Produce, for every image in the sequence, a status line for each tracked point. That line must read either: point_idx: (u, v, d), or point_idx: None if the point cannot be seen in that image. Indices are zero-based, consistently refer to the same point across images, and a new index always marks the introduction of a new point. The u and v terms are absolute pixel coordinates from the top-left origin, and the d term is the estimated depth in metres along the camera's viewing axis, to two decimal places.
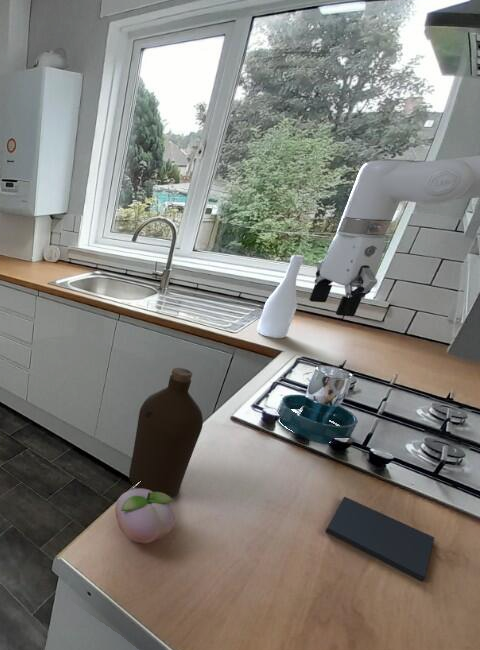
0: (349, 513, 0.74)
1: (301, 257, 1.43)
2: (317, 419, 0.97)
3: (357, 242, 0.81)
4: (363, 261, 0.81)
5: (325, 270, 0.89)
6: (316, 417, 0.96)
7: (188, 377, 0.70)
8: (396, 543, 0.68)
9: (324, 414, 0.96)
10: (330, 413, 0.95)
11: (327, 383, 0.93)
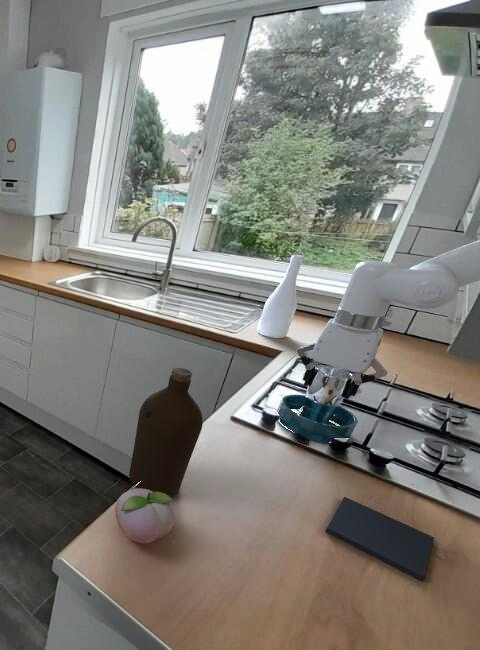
0: (349, 513, 0.74)
1: (301, 257, 1.43)
2: (317, 419, 0.97)
3: (371, 336, 0.86)
4: (375, 352, 0.87)
5: (324, 357, 0.93)
6: (316, 417, 0.96)
7: (188, 377, 0.70)
8: (396, 543, 0.68)
9: (324, 414, 0.96)
10: (330, 413, 0.95)
11: (327, 383, 0.93)
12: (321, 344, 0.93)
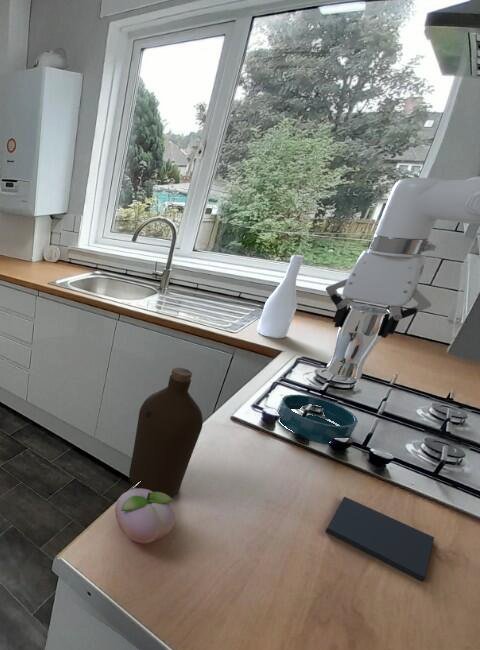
0: (349, 513, 0.74)
1: (301, 257, 1.43)
2: (350, 363, 0.88)
3: (413, 262, 0.77)
4: (417, 281, 0.78)
5: (358, 292, 0.84)
6: (349, 361, 0.88)
7: (188, 377, 0.70)
8: (396, 543, 0.68)
9: (358, 357, 0.87)
10: (365, 355, 0.86)
11: (362, 320, 0.84)
12: (354, 278, 0.84)
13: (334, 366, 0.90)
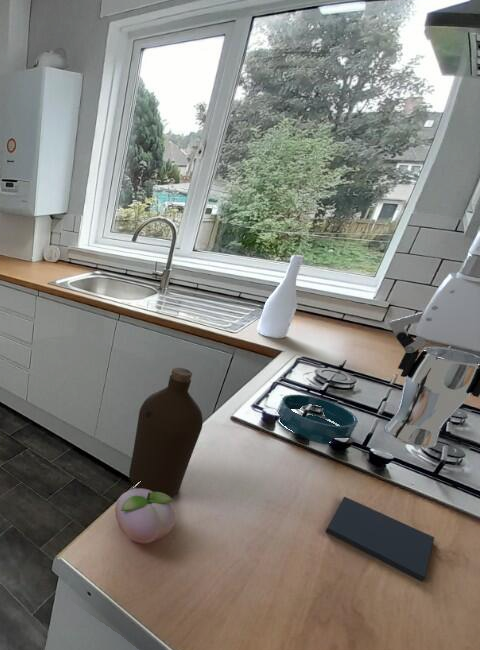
0: (349, 513, 0.74)
1: (301, 257, 1.43)
2: (422, 426, 0.64)
3: None
4: None
5: (440, 332, 0.60)
6: (422, 424, 0.64)
7: (188, 377, 0.70)
8: (396, 543, 0.68)
9: (435, 420, 0.63)
10: (445, 418, 0.63)
11: (444, 371, 0.60)
12: (435, 312, 0.60)
13: (398, 429, 0.66)
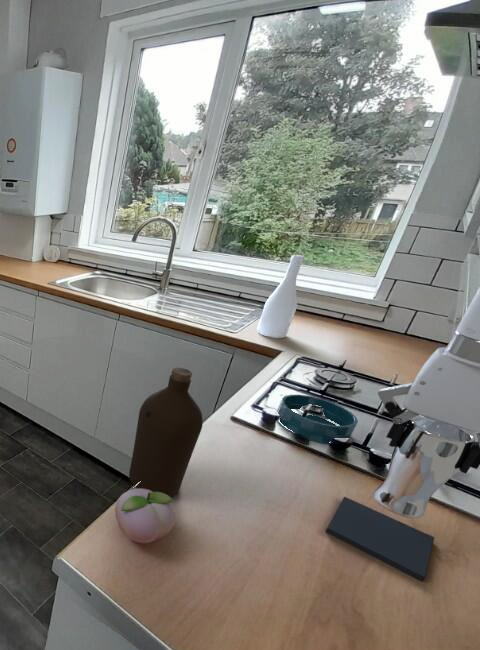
0: (349, 513, 0.74)
1: (301, 257, 1.43)
2: (410, 497, 0.64)
3: None
4: None
5: (428, 407, 0.60)
6: (410, 495, 0.64)
7: (188, 377, 0.70)
8: (396, 543, 0.68)
9: (423, 492, 0.63)
10: (433, 491, 0.62)
11: (432, 447, 0.60)
12: (424, 387, 0.60)
13: (387, 497, 0.66)
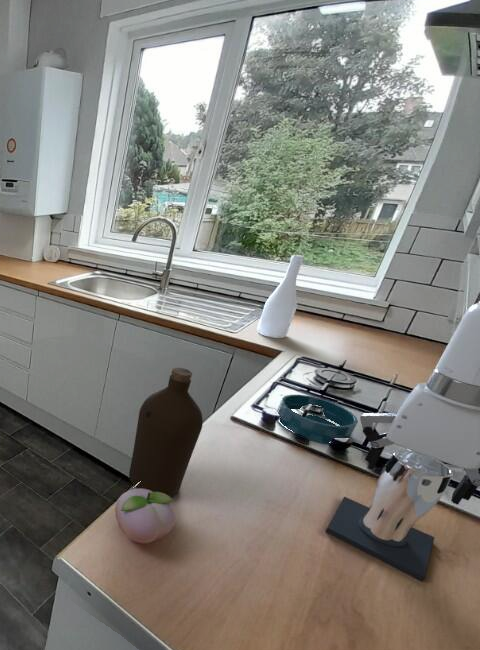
0: (349, 513, 0.74)
1: (301, 257, 1.43)
2: (393, 527, 0.67)
3: None
4: None
5: (409, 440, 0.62)
6: (392, 525, 0.66)
7: (188, 377, 0.70)
8: None
9: (405, 523, 0.65)
10: (414, 521, 0.65)
11: (413, 480, 0.63)
12: (405, 421, 0.62)
13: (371, 526, 0.69)
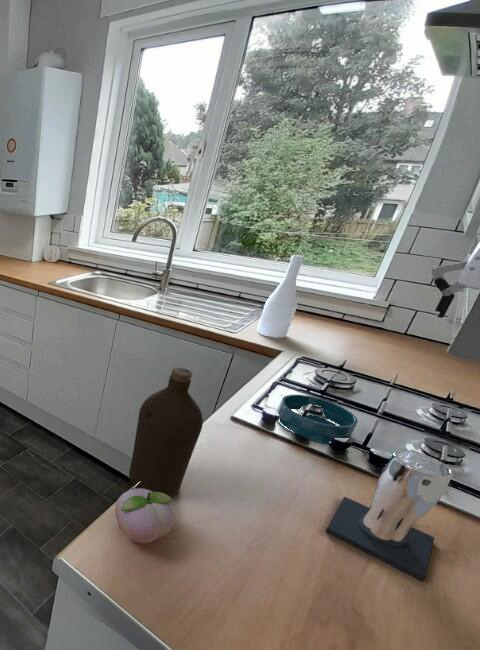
0: (349, 513, 0.74)
1: (301, 257, 1.43)
2: (393, 527, 0.67)
3: None
4: None
5: None
6: (392, 525, 0.66)
7: (188, 377, 0.70)
8: None
9: (405, 523, 0.65)
10: (414, 521, 0.65)
11: (413, 480, 0.63)
12: (478, 262, 0.69)
13: (371, 526, 0.69)
